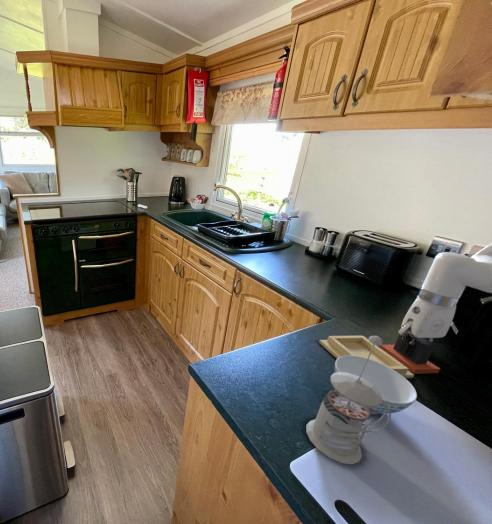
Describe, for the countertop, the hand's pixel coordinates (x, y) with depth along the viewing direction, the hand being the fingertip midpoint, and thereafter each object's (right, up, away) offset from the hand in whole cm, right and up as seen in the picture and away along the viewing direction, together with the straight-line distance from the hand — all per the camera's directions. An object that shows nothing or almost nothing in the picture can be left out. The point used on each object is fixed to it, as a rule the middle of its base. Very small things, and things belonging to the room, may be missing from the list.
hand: (410, 352), depth 84 cm
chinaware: (-26, -7, -16) cm, 31 cm away
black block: (0, -3, +1) cm, 3 cm away
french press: (-39, -10, -26) cm, 48 cm away
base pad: (-14, -2, 0) cm, 14 cm away
